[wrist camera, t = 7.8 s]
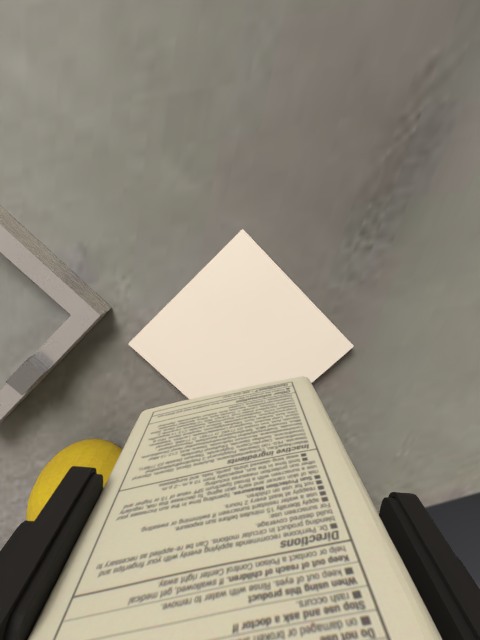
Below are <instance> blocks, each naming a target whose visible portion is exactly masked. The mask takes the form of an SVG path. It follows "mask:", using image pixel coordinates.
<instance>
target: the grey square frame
mask: <svg viewBox="0 0 480 640" xmlns="http://www.w3.org/2000/svg"><path fill="white" fill-rule="evenodd" d="M0 252H1V253H2V254H3V255H4V256H5V257H7V258H8V259H9V260H10V261H11V262H12V263H13V264H14V265H16V266H17V267H18V268H19V269H20V270H21V271H22V272H23V273H24V274H26V275H27V276H28V277H29V278H30V279H31V280H32V281H33V282H35V283H36V284H37V285H38V286H39V287H40V288H41V289H42V290H44V291H45V292H46V293H47V294H48V295H49V296H50V297H51V298H53V299H54V300H55V301H56V302H57V303H58V304H59V305H60V306H62V307H63V308H64V309H65V310H66V311H67V312H68V313H69V314H71V316H70V317H69V318H68V319H67V320H66V321H65V322H64V323H63V324H62V325H61V327H60V328H59V329H58V330H57V331H56V332H55V333H54V334H53V335H52V336H51V337H50V338H49V339H48V340H47V341H46V343H45V344H44V345H43V346H42V347H41V348H40V349H39V350H38V351H37V352H36V353H35V354H34V355H33V356H31V357H30V358H28V359H27V360H26V361H25V362H24V363H23V364H22V365H21V366H20V367H19V368H18V369H17V370H16V372H15V373H14V374H13V375H12V376H11V377H10V378H9V379H8V380H7V381H6V383H7V384H6V385H5V386H4V387H3V388H2V389H1V390H0V423H1V422H2V421H3V420H4V419H5V418H6V417H7V416H8V415H9V414H10V413H11V412H12V411H13V410H14V409H15V408H16V407H17V406H18V405H19V404H20V403H21V402H22V401H23V399H24V398H25V397H26V396H27V395H28V394H29V393H30V392H31V391H32V390H33V389H34V388H35V387H36V386H37V385H38V384H39V383H40V382H41V381H42V380H43V379H44V378H45V377H46V376H47V375H48V373H49V372H50V371H51V370H52V369H53V368H54V367H55V366H56V365H57V364H58V363H59V362H60V361H61V360H62V359H63V358H64V357H65V356H66V355H67V354H68V353H69V352H70V351H71V350H72V349H73V347H74V346H75V345H76V344H77V343H78V342H79V341H80V340H81V339H82V338H83V337H84V336H85V335H86V334H87V333H88V332H89V331H90V330H91V329H92V328H93V327H94V326H95V325H96V324H97V323H98V321H99V320H100V319H101V318H102V317H103V316H104V315H105V314H106V313H107V312H108V311H109V310H110V309H111V307H110V306H109V305H108V304H107V303H106V302H105V301H104V300H103V299H102V298H100V297H99V296H98V295H97V294H96V293H95V292H94V291H93V290H92V289H91V288H90V287H88V286H87V285H86V284H85V283H84V282H83V281H82V280H81V279H80V278H79V277H78V276H76V275H75V274H74V273H73V272H72V271H71V270H70V269H69V268H68V267H67V266H66V265H65V264H63V263H62V262H61V261H60V260H59V259H58V258H57V257H56V256H55V255H54V254H53V253H51V252H50V251H49V250H48V249H47V248H46V247H45V246H44V245H43V244H42V243H41V242H39V241H38V240H37V239H36V238H35V237H34V236H33V235H32V234H31V233H30V232H29V231H27V230H26V229H25V228H24V227H23V226H22V225H21V224H20V223H19V222H18V221H17V220H15V219H14V218H13V217H12V216H11V215H10V214H9V213H8V212H7V211H6V210H5V209H3V208H2V207H1V206H0Z"/></svg>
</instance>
